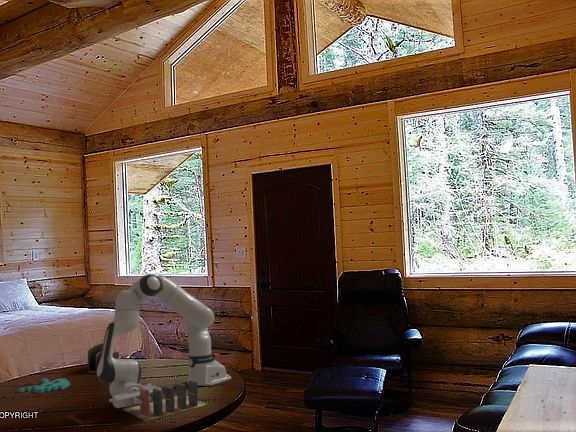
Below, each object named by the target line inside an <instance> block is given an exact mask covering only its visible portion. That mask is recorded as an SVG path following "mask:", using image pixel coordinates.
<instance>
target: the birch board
mask: <svg viewBox="0 0 576 432" xmlns="http://www.w3.org/2000/svg"><path fill="white" fill-rule="evenodd" d="M174 404H175V412H173V413H171V412H168V411H166V404H165V398H162V410H163V415H161V416H158V415H156V414H154V410H153V401H151V402H149V411H150V415H149V416H145V415H143V414H141V410H140V404H138V405H134V406H130V407H127V408H123V409H122V410H123V411H125V412H127V413H129V414H131V415H133V416H135V417H136V418H138V419H141V420H143V422H148V421H150V420H155V419H158V418H163V417H166V416H171V415H174V414H177V413H181V412H184V411H188V410H189V411H190V410H192V409H196V408H201V407H203V406H206V405H208V403H206V402H204V401H201V400H198V406H195V407H194V406H192V405H189V395H186V407H187V409H184V410H183V409H180V408H178V407H177V395H176V396H174Z"/></svg>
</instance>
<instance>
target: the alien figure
mask: <svg viewBox="0 0 576 432" xmlns="http://www.w3.org/2000/svg"><path fill="white" fill-rule="evenodd" d="M40 381H41V383H40V384H39V385H37V384H36V385H35V384H34V385H31V386H26V387H20V388H18V393H20V392H23V393H25V392H31V391H33V392H34V394H36V393H37V394H39V393H45V392H47V393H48V392H51V391H57V390H63V389H66V388H68V387H69V386H71V382H70V381H69V380H68V379H67V378H57V379H55V380H52V381H50V379H48V378H42V379H40Z"/></svg>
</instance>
